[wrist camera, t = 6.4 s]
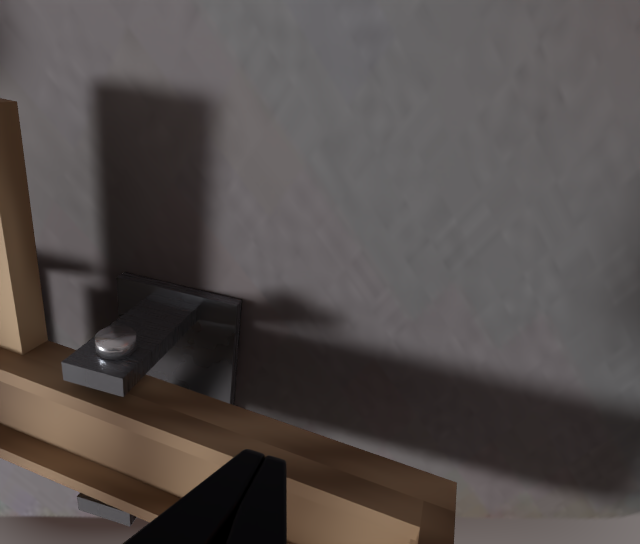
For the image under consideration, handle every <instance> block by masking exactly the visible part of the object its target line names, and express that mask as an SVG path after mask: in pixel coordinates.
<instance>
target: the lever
mask: <svg viewBox="0 0 640 544" xmlns="http://www.w3.org/2000/svg"><path fill="white" fill-rule="evenodd" d="M75 351H76V350H74V349H71V348H68V347H65V346H63V345H60V344H57V343H54V342H51V341H48V338H47V330H46V322H45V315H44V307H43V299H42V291H41V284H40V276H39V268H38V261H37V253H36V245H35V237H34V230H33V222H32V214H31V207H30V199H29V191H28V183H27V176H26V168H25V160H24V153H23V145H22V137H21V129H20V122H19V114H18V106H17V102H16V101H11V100H6V99H1V98H0V458H2V459H4V460H7V461H9V462H11V463H13V464H16V465H18V466H20V467H23V468H25V469H27V470H30V471H32V472H34V473H37V474H39V475H41V476H43V477H46V478H48V479H50V480H53V481H55V482H57V483H60V484H62V485H64V486H67V487H69V488H71V489H73V490H76V491H78V492H80V493H83V494H85V495H87V496H90V497H92V498H94V499H97V500H99V501H101V502H104V503H106V504H108V505H110V506H113V507H115V508H117V509H120V510H122V511H124V512H127V513H129V514H131V515H134V516H136V517H138V518H141V519H143V520H145V521H147V522H151V521H152V520H154V519H155V518H156V517H158V516H159V515H160V514H161V513H163V512H164V511H165V510H167V509H168V508H169V507H170V506H172V505H173V504H174V503H176V502H177V501H178V500H179V499H181V498H182V497H183V496H185V495H186V494H187V493H188V492H190V491H191V490H192V489H194V488H195V487H196V486H197V485H199V484H200V483H201V482H203V481H204V480H205V479H206V478H208V477H209V476H210V475H212V474H213V473H214V472H215V471H217V470H218V469H219V468H221V467H222V466H223V465H224V464H226V463H227V462H228V461H230V460H231V459H232V458H233V457H235V456H236V455H237V454H239V453H240V452H241V451H243V450H244V449H250V450H254V451H257V452H260V453H263V454H264V455H265V457H266V456H268V455H270V456H274V457H277V458H280V459H283V460H285V461H286V474H287V544H454V527H455V509H456V489H457V483H456V482H453V481H451V480H448V479H445V478H442V477H439V476H436V475H433V474H430V473H428V472H425V471H422V470H419V469H416V468H413V467H410V466H407V465H405V464H402V463H399V462H396V461H393V460H390V459H387V458H384V457H382V456H379V455H376V454H373V453H370V452H367V451H364V450H361V449H359V448H356V447H353V446H350V445H347V444H344V443H341V442H338V441H336V440H333V439H330V438H327V437H324V436H321V435H318V434H315V433H313V432H310V431H307V430H304V429H301V428H298V427H295V426H292V425H290V424H287V423H284V422H281V421H278V420H275V419H272V418H269V417H267V416H264V415H261V414H258V413H255V412H252V411H249V410H246V409H244V408H241V407H238V406H235V405H232V404H229V403H226V402H223V401H221V400H218V399H215V398H212V397H209V396H206V395H203V394H200V393H198V392H195V391H192V390H189V389H186V388H183V387H180V386H178V385H175V384H172V383H169V382H166V381H163V380H160V379H157V378H155V377H152V376H149V375H145V376H144V377H143V378H142V379H141V380H140V381H139V382H138V383H137V384H136V385H135V386H134V387H133V388H132V389H131V390H130V391H129V392H128V393H127V394H126V395H125V396H124V397H121V396H118V395H114V394H111V393H107V392H104V391H100V390H97V389H93V388H89V387H86V386H82V385H79V384H75V383H72V382H68V381H64V380H63V373H62V364H61V362H62V361H63V360H64V359H66V358H67V357H68V356H70V355H71V354H72V353H74V352H75Z"/></svg>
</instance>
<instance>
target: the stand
mask: <svg viewBox="0 0 640 544" xmlns="http://www.w3.org/2000/svg"><path fill="white" fill-rule="evenodd" d="M117 290H118V309H119V318H118V319H117V320H116V321H114V322H113V323H112V324H111V325H109V326H108V327H106V328H104V329H102V330H100V331H99V332H97V334H96V335H95V337H93V338H92V339H91V340H89V341H88V342H87V343H86V344H84V345H83V346H82V347H80V348H79V349H78V350H76V351H75V352H74V353H72V354H71V355H70V356H68V357H67V358H66V359H64V360H63V361H62V362H61V364H62V373H63V380H64V381H68V382H72V383H75V384H79V385H82V386H86V387H89V388H93V389H97V390H100V391H104V392H107V393H111V394H114V395H118V396H121V397H124V396H125V395H126V394H127V393H128V392H129V391H130V390H131V389H132V388H133V387H134V386H135V385H136V384H137V383H138V382H139V381H140V380H141V379H142V378H143V377H144V376H145V375H149V376H152V377H155V378H157V379H160V380H163V381H166V382H169V383H172V384H175V385H178V386H180V387H183V388H186V389H189V390H192V391H195V392H198V393H200V394H203V395H206V396H209V397H212V398H215V399H218V400H221V401H223V402H226V403H229V404H232V405H234V396H235V382H236V369H237V356H238V343H239V330H240V317H241V304H242V300H240V299H235V298H231V297H227V296H223V295H218V294H214V293H210V292H206V291H202V290H197V289H193V288H189V287H185V286H180V285H176V284H172V283H168V282H164V281H159V280H155V279H151V278H147V277H142V276H138V275H134V274H130V273H126V272H124V273H123V274H121V275H119V276H118V277H117ZM77 500H78V508H79V510H81V511H84V512H87V513H90V514H93V515H96V516H99V517H103V518H106V519H109V520H112V521H115V522H118V523H121V524H124V525H127V526H131V524H132V523H133V522H134V520H135V519H136V516H134V515H131V514H129V513H127V512H124V511H122V510H120V509H117V508H115V507H113V506H110V505H108V504H106V503H104V502H101V501H99V500H97V499H94V498H92V497H90V496H87V495H85V494H83V493H80V494H79V495H78V496H77Z"/></svg>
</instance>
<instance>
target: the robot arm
mask: <svg viewBox="0 0 640 544" xmlns="http://www.w3.org/2000/svg"><path fill="white" fill-rule="evenodd" d="M123 544H287V474H286V461H285V460H283V459H280V458H277V457H274V456H270V455H268V456H266V457H265V455H264V454H263V453H260V452H257V451H254V450H250V449H244V450H243V451H241V452H240V453H239V454H237V455H236V456H235V457H233V458H232V459H231V460H230V461H228V462H227V463H226V464H224V465H223V466H222V467H221V468H219V469H218V470H217V471H215V472H214V473H213V474H212V475H210V476H209V477H208V478H206V479H205V480H204V481H203V482H201V483H200V484H199V485H197V486H196V487H195V488H194V489H192V490H191V491H190V492H188V493H187V494H186V495H185V496H183V497H182V498H181V499H179V500H178V501H177V502H176V503H174V504H173V505H172V506H170V507H169V508H168V509H167V510H165V511H164V512H163V513H161V514H160V515H159V516H158V517H156V518H155V519H154V520H152V521H151V522H150V523H149V524H147V525H146V526H145V527H143V528H142V529H141V530H140V531H138V532H137V533H136V534H134V535H133V536H132V537H131V538H129V539H128V540H127V541H126V542H124V543H123Z"/></svg>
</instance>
